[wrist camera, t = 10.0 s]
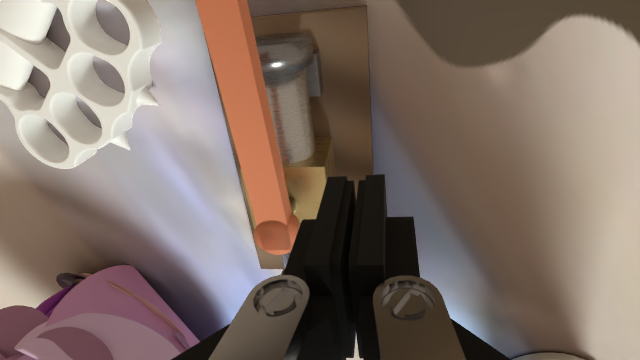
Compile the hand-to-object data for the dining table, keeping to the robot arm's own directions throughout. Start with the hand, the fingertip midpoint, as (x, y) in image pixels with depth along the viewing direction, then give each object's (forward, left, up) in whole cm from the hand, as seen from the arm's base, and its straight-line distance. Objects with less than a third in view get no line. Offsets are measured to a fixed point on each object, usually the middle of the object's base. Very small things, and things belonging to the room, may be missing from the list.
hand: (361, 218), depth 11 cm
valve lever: (-2, +6, -10) cm, 12 cm away
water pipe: (-8, +6, -19) cm, 21 cm away
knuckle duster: (+1, +25, -21) cm, 33 cm away
